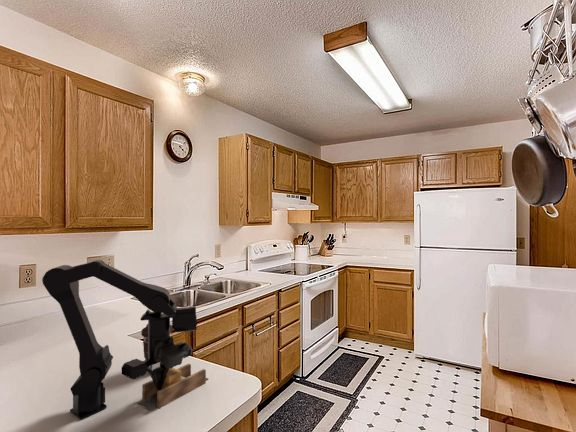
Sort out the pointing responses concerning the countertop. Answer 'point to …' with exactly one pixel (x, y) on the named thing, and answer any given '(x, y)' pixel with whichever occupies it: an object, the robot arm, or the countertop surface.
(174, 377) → the block
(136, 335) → the countertop surface
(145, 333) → the coffee cup
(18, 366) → the countertop surface
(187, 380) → the trough
